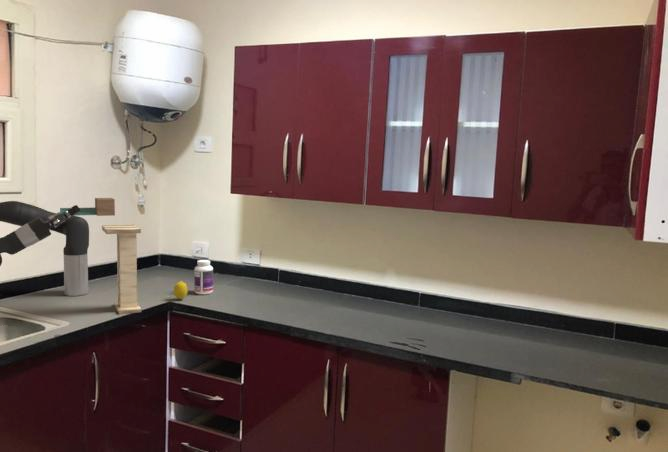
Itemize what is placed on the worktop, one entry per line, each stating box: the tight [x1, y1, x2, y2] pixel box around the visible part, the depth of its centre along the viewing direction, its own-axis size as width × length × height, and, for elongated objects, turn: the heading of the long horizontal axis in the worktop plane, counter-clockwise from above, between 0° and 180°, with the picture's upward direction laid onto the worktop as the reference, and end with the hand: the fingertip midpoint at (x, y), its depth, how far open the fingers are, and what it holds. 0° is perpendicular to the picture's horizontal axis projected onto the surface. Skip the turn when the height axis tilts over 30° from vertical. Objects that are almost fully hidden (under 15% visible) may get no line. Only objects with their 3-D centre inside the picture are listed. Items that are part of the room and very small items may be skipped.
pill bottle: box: [193, 259, 214, 296], centre depth 244 cm, size 8×8×14 cm
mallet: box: [59, 197, 116, 217], centre depth 205 cm, size 8×18×6 cm, turn 119°
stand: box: [101, 224, 142, 315], centre depth 214 cm, size 15×12×32 cm
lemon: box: [173, 280, 188, 301], centre depth 232 cm, size 6×6×8 cm
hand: (78, 207), depth 203 cm, fingers closed on mallet, 2 cm apart
